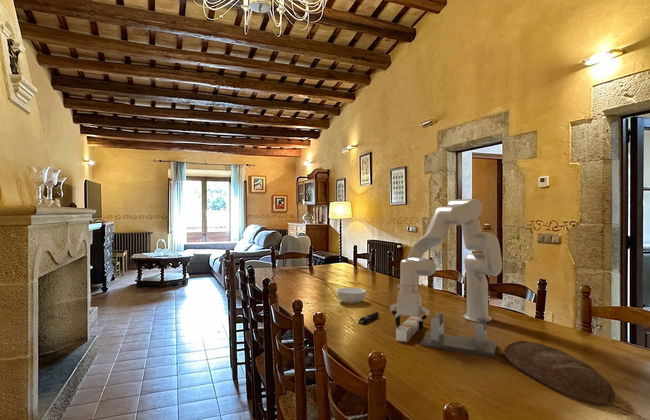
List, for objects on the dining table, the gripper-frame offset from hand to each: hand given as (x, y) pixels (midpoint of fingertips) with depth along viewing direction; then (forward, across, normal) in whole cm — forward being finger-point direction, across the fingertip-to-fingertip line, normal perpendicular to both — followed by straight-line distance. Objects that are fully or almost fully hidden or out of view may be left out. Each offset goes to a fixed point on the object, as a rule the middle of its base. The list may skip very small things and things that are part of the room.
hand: (409, 328), depth 157 cm
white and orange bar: (+2, 0, 0) cm, 2 cm away
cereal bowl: (+2, -45, +37) cm, 58 cm away
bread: (+2, +51, -20) cm, 55 cm away
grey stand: (+2, +21, -6) cm, 22 cm away
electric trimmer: (+3, -22, +8) cm, 24 cm away
